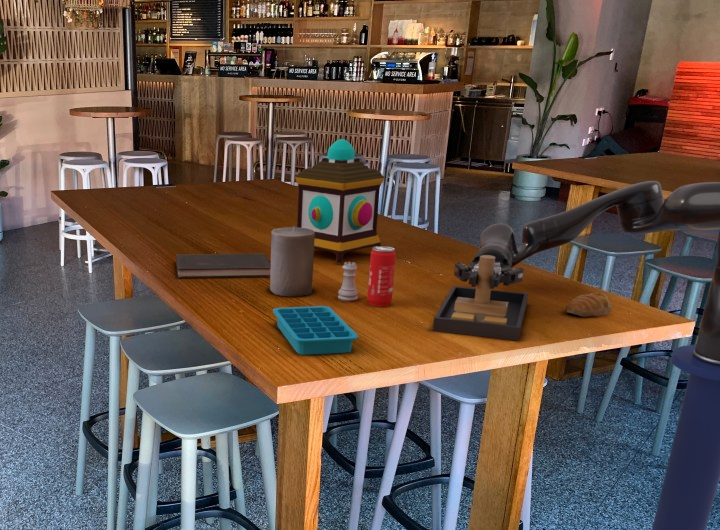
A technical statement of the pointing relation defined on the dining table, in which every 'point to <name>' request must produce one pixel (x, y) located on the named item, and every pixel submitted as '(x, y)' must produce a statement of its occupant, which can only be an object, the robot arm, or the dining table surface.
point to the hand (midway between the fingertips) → (482, 282)
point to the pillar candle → (292, 261)
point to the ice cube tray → (315, 330)
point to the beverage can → (381, 276)
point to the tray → (508, 331)
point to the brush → (482, 295)
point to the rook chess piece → (348, 283)
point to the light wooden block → (463, 316)
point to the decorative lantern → (340, 201)
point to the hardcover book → (222, 265)
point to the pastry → (589, 305)
